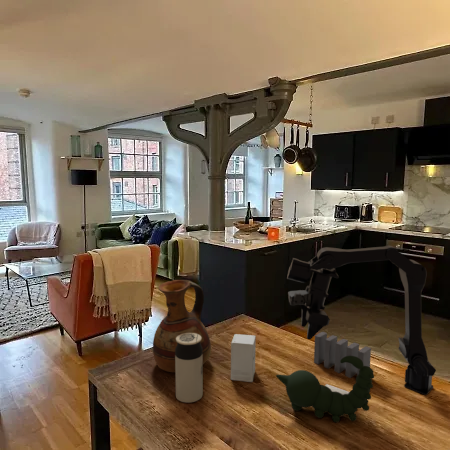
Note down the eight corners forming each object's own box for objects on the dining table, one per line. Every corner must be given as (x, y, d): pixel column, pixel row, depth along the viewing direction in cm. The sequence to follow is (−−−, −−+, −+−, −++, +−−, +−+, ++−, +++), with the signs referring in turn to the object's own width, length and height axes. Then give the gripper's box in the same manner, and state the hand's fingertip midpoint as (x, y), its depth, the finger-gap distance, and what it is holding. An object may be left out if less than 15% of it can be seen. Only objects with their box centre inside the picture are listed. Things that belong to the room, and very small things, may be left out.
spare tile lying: (359, 401, 105) (359, 395, 105) (353, 409, 101) (354, 403, 101) (326, 389, 111) (326, 384, 111) (319, 397, 107) (320, 391, 107)
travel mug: (172, 402, 104) (171, 342, 102) (180, 386, 112) (179, 331, 110) (199, 405, 102) (198, 344, 100) (205, 389, 110) (205, 333, 108)
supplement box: (253, 382, 114) (253, 344, 113) (230, 380, 116) (230, 342, 114) (255, 371, 121) (256, 335, 120) (234, 368, 123) (234, 333, 121)
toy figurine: (364, 416, 100) (275, 393, 107) (374, 353, 98) (282, 333, 105) (366, 439, 91) (269, 412, 98) (377, 370, 89) (277, 347, 96)
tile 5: (369, 377, 117) (370, 348, 116) (362, 383, 114) (363, 353, 113) (364, 375, 119) (365, 346, 118) (356, 380, 115) (358, 351, 114)
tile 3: (346, 368, 123) (348, 340, 122) (339, 373, 120) (340, 344, 119) (341, 366, 125) (343, 338, 123) (334, 371, 121) (335, 342, 120)
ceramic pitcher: (142, 362, 127) (140, 279, 123) (188, 345, 140) (188, 270, 137) (174, 385, 112) (173, 292, 109) (222, 364, 126) (222, 280, 122)
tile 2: (336, 363, 126) (337, 336, 125) (328, 368, 123) (329, 340, 122) (331, 362, 127) (332, 335, 126) (323, 366, 124) (325, 339, 123)
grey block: (357, 372, 120) (359, 344, 119) (350, 378, 117) (351, 348, 116) (352, 370, 122) (354, 342, 121) (345, 375, 118) (346, 346, 117)
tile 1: (326, 359, 129) (327, 333, 128) (318, 364, 126) (319, 337, 125) (321, 358, 130) (322, 331, 129) (313, 362, 127) (314, 335, 126)
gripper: (289, 272, 122) (277, 315, 125) (299, 290, 104) (285, 340, 106) (321, 280, 122) (309, 322, 125) (336, 299, 104) (321, 348, 106)
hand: (305, 332), depth 115 cm, fingers open, 9 cm apart
